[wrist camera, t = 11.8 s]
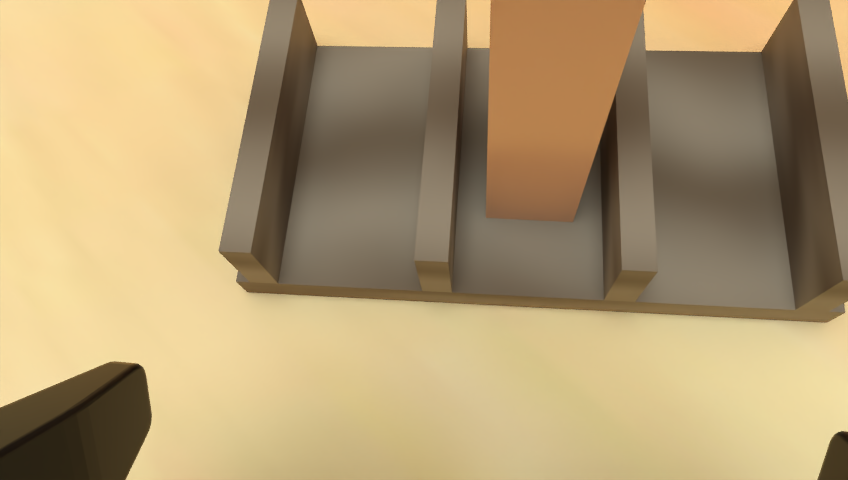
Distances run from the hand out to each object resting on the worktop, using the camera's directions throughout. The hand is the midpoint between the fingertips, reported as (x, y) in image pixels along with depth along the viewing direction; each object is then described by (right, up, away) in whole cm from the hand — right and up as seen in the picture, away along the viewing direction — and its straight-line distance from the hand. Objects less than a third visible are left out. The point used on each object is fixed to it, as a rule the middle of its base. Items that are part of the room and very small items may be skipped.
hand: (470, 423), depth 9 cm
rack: (+3, +5, +16) cm, 17 cm away
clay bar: (+3, +5, +15) cm, 16 cm away
